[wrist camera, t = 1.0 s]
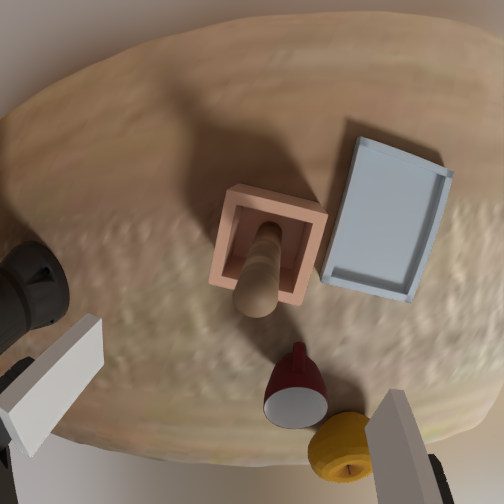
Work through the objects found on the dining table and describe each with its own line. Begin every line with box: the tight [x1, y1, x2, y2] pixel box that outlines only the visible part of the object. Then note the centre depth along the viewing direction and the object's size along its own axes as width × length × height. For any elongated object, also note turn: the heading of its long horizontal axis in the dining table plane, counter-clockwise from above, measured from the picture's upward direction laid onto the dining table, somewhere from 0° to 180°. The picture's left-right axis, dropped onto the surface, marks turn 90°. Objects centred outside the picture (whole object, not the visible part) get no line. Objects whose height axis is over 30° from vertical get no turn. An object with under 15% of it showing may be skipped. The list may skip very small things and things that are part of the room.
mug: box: [263, 342, 328, 429], centre depth 39 cm, size 10×8×10 cm
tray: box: [319, 136, 454, 303], centre depth 35 cm, size 18×13×2 cm
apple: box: [308, 411, 373, 483], centre depth 42 cm, size 13×13×11 cm
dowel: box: [233, 221, 282, 318], centre depth 29 cm, size 3×3×18 cm
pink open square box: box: [208, 183, 328, 306], centre depth 35 cm, size 10×10×8 cm
